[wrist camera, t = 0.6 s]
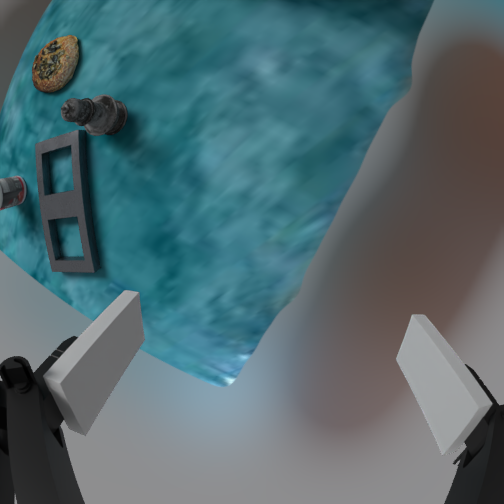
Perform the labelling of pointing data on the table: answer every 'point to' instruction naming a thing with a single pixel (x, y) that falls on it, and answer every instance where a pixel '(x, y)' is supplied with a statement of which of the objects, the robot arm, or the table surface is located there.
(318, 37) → the table surface
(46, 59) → the bread roll
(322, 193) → the table surface
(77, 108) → the grey chess piece
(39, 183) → the grey rectangular frame
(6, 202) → the pill bottle
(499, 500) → the robot arm
